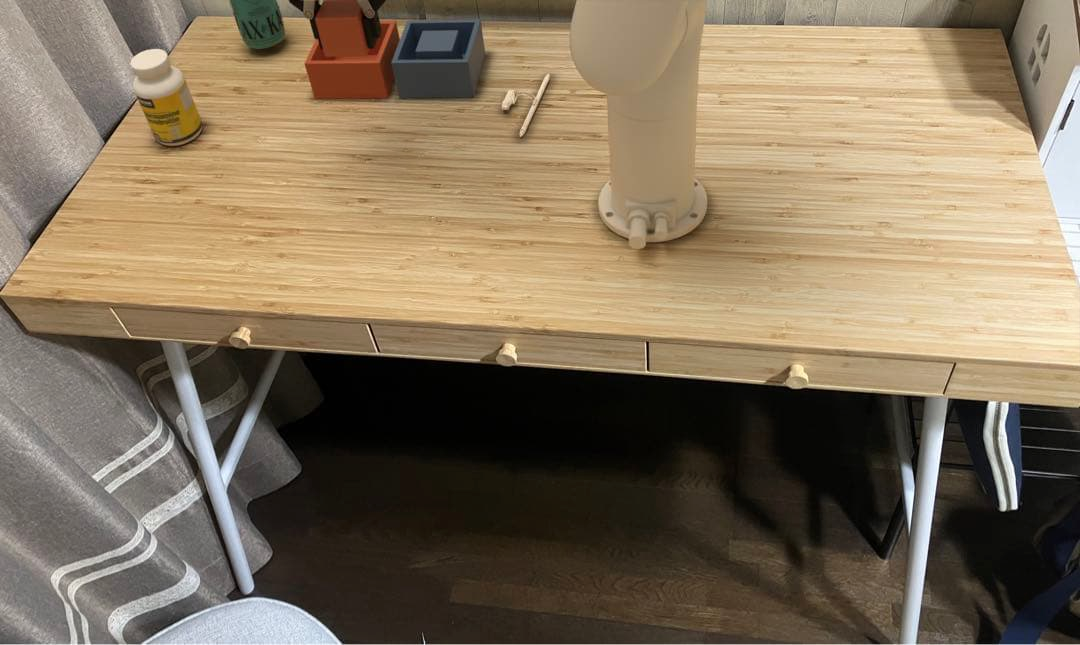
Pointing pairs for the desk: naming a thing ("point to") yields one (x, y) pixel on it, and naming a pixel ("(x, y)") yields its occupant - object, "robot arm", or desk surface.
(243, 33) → the beverage bottle
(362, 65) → the terracotta bin
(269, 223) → the desk surface
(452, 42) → the gray block
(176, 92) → the pill bottle
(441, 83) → the blue bin
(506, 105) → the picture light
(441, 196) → the desk surface
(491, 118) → the desk surface
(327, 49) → the terracotta block
